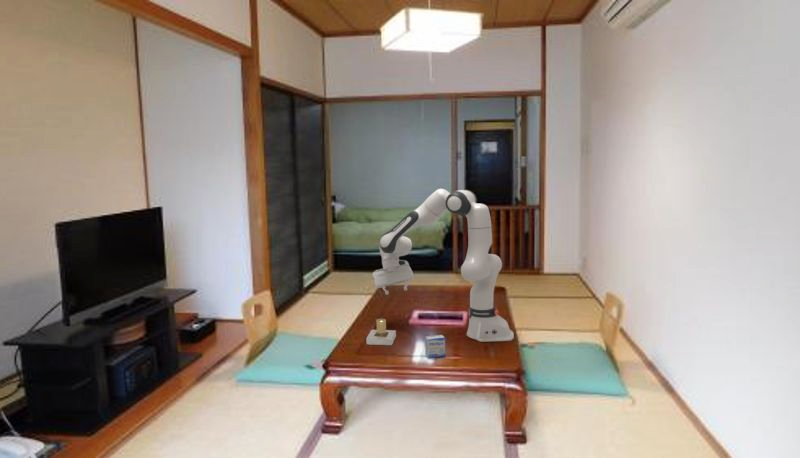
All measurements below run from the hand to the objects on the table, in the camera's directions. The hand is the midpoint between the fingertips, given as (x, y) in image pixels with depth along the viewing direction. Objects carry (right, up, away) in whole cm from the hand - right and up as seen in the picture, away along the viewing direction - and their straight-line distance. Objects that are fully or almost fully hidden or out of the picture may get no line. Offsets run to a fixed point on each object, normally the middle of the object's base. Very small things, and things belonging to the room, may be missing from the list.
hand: (396, 292), depth 274 cm
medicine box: (+17, -24, -32) cm, 44 cm away
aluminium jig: (-7, -21, -13) cm, 26 cm away
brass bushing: (-7, -21, -13) cm, 26 cm away
